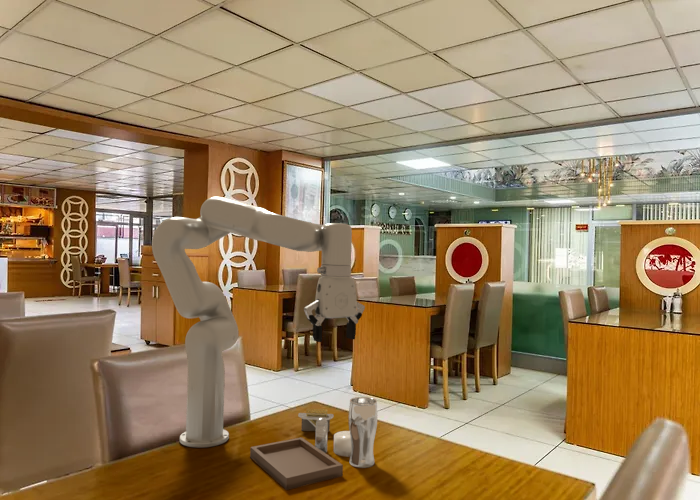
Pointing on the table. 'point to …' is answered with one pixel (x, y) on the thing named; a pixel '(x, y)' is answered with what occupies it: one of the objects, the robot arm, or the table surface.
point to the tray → (295, 463)
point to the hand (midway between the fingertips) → (334, 339)
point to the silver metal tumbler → (362, 431)
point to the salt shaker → (321, 434)
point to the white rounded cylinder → (342, 443)
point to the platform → (313, 419)
